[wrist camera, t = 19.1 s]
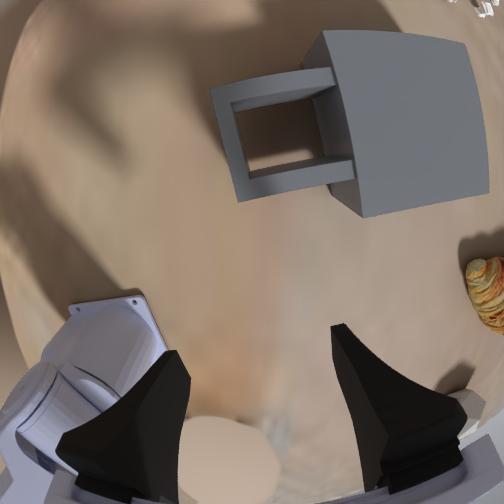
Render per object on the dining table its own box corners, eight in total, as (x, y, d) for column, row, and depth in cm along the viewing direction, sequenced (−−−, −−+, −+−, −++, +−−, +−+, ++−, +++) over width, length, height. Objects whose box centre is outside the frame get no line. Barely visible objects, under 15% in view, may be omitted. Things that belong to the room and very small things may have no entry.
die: (461, 370, 29) (449, 428, 23) (496, 384, 26) (488, 439, 20) (434, 391, 34) (419, 441, 28) (467, 403, 31) (456, 452, 25)
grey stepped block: (249, 213, 20) (247, 243, 14) (215, 78, 16) (199, 51, 11) (440, 177, 19) (489, 193, 13) (418, 60, 15) (464, 43, 9)
